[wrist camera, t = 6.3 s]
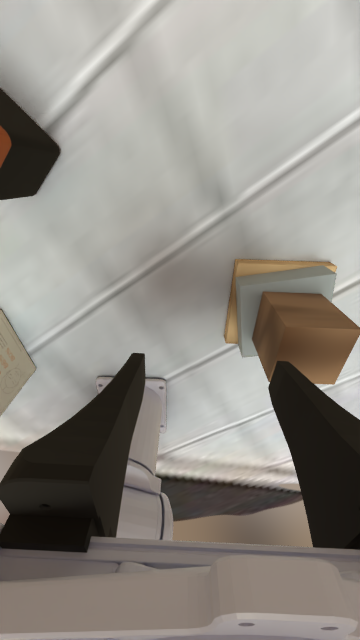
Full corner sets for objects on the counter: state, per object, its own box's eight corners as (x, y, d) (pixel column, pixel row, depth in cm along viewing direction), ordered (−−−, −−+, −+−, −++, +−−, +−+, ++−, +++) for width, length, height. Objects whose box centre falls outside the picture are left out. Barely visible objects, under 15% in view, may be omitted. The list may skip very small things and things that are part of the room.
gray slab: (312, 336, 23) (322, 349, 21) (238, 344, 24) (242, 357, 22) (323, 265, 19) (336, 273, 18) (235, 277, 20) (240, 286, 18)
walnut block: (303, 341, 21) (334, 384, 17) (251, 339, 21) (268, 381, 17) (321, 293, 18) (362, 329, 14) (262, 291, 18) (286, 326, 14)
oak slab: (299, 334, 25) (307, 346, 24) (223, 331, 25) (225, 343, 24) (325, 259, 21) (337, 266, 19) (233, 256, 21) (237, 263, 19)
